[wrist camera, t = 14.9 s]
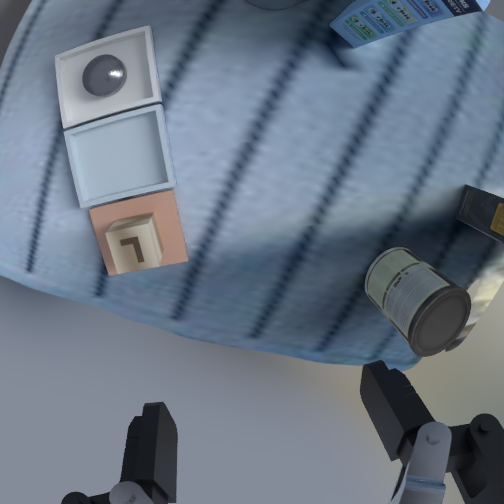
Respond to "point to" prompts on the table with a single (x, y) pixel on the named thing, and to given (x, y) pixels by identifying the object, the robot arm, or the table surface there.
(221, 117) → the table surface
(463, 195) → the cake mix box
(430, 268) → the coffee can
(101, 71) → the grey domed disc
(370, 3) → the gum box
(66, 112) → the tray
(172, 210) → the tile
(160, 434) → the robot arm
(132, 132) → the middle tray
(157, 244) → the letter cube
